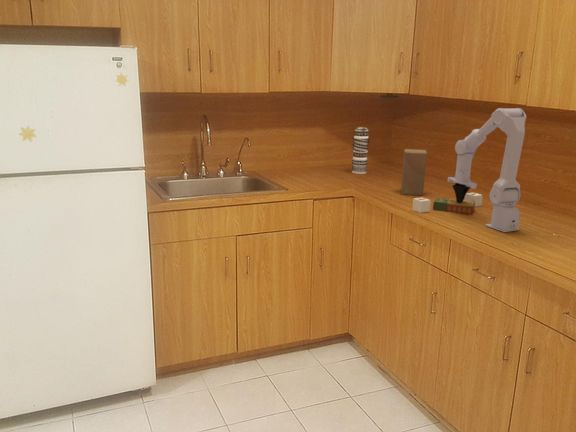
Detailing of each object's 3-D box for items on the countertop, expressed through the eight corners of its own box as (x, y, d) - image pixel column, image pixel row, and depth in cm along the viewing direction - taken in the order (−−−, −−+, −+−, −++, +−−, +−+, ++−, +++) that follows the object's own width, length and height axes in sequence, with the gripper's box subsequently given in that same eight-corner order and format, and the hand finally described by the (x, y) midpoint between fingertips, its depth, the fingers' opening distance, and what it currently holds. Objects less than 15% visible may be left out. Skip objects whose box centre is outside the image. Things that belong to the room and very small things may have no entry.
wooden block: (423, 195, 250) (427, 153, 245) (401, 194, 252) (404, 151, 247) (422, 191, 260) (426, 150, 254) (401, 189, 262) (404, 148, 256)
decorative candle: (360, 174, 297) (363, 128, 290) (347, 172, 303) (349, 127, 296) (370, 172, 303) (373, 127, 296) (357, 170, 309) (359, 126, 302)
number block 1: (429, 211, 223) (430, 199, 222) (420, 213, 221) (421, 200, 219) (421, 208, 227) (422, 197, 226) (412, 210, 225) (413, 198, 224)
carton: (472, 215, 220) (473, 205, 219) (432, 210, 226) (433, 200, 225) (474, 210, 228) (475, 200, 226) (435, 206, 234) (436, 196, 232)
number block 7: (481, 206, 235) (482, 194, 233) (472, 207, 232) (474, 195, 231) (472, 203, 239) (474, 192, 237) (464, 204, 237) (465, 193, 235)
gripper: (484, 172, 215) (479, 205, 219) (457, 166, 227) (454, 197, 231) (470, 173, 212) (466, 206, 216) (445, 167, 224) (441, 198, 228)
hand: (459, 202), depth 223 cm, fingers closed
